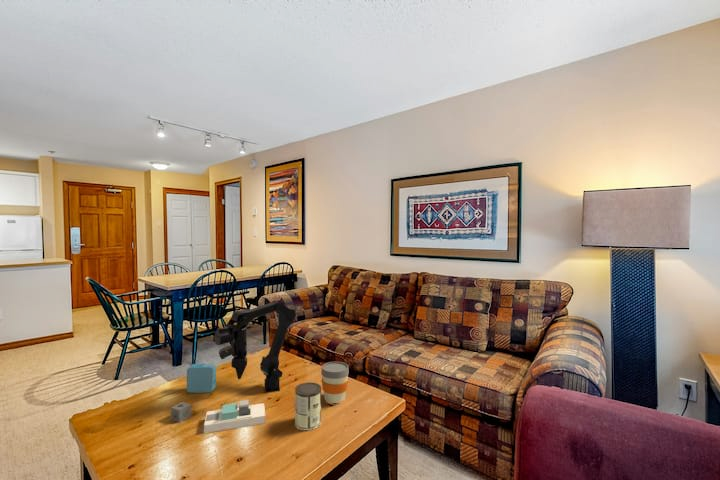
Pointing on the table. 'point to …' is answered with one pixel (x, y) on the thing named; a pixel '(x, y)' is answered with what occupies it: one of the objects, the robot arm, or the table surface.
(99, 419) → the table surface
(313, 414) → the coffee can
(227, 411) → the block
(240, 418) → the socket strip
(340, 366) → the reusable coffee cup
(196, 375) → the data package
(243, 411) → the white rectangular block
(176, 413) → the dice cube
